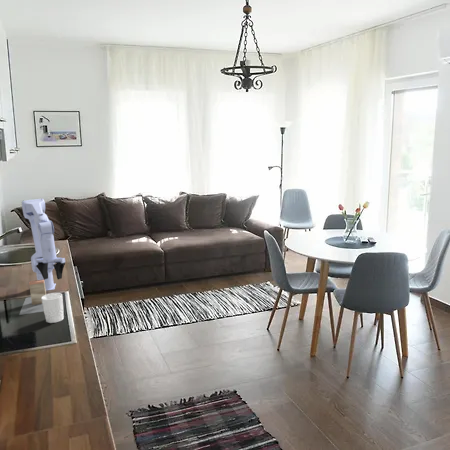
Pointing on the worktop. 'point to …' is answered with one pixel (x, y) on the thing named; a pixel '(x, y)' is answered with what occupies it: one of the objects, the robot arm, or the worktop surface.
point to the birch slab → (37, 291)
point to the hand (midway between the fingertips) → (52, 278)
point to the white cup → (53, 307)
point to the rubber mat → (30, 307)
